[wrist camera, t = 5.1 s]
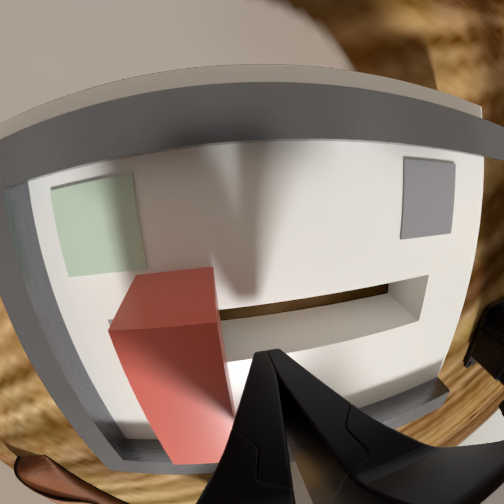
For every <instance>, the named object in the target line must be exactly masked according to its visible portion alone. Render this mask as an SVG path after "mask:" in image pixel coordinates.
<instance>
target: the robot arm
mask: <svg viewBox="0 0 504 504" xmlns="http://www.w3.org/2000/svg"><path fill="white" fill-rule="evenodd" d="M477 362H478V363H479V364H480V365H481V366H482V367H483V368H484V369H485V370H486V371H487V372H488V373H489V374H490V375H491V376H492V377H493V378H494V379H495V380H497V381H498V380H499V381H500V382H501V383H502V384H503V385H504V298H502V299H500V300H498V301H496V302H494V303H492V304H490V305H488V306H487V307H486V308H485V310H484V312H483V315H482V318H481V321H480V324H479V327H478V330H477V332H476V335H475V338H474V340H473V343H472V345H471V348H470V350H469V353H468V355H467V357H466V360H465V362H464V366H465V367H466V368H468V367H470V366H472V365H473V364H475V363H477ZM498 407H499V408H500V410H501V412H502V415H503V416H504V400H503V401H502V402H501V403H500V405H499V406H498ZM287 442H288V444H289V447H290V449H291V452H292V454H293V457H294V459H295V462H296V464H297V467H298V469H299V472H300V474H301V476H302V479H303V481H304V484H305V486H306V488H307V491H308V493H309V495H310V498H311V500H312V502H313V504H504V440H503V441H499V442H493V443H486V444H478V445H469V446H457V447H435V446H430V445H427V444H424V443H422V442H419V441H417V440H415V439H413V438H411V437H409V436H407V435H404V434H402V433H400V432H398V431H396V430H394V429H392V428H390V427H388V426H387V425H385V424H383V423H381V422H379V421H378V420H376V419H374V418H372V417H371V416H369V415H368V414H366V413H365V412H363V411H362V410H360V409H359V408H358V407H356V406H355V405H353V404H352V405H351V403H350V402H349V401H348V400H346V399H345V398H343V397H342V396H341V395H339V394H338V393H337V392H335V391H334V390H333V389H331V388H330V387H329V386H327V385H326V384H325V383H323V382H322V381H321V380H319V379H318V378H317V377H315V376H314V375H313V374H311V373H310V372H309V371H308V370H306V369H305V368H304V367H302V366H301V365H300V364H298V363H297V362H296V361H295V360H293V359H292V358H291V357H290V356H288V355H287V354H286V353H285V352H283V351H282V350H281V349H271V350H267V351H266V350H265V351H258V352H255V353H254V355H253V359H252V362H251V366H250V369H249V372H248V376H247V379H246V383H245V386H244V389H243V393H242V396H241V399H240V403H239V406H238V409H237V413H236V416H235V419H234V422H233V426H232V430H231V432H230V435H229V438H228V441H227V444H226V446H225V449H224V452H223V454H222V456H221V458H220V460H219V463H218V465H217V467H216V469H215V471H214V472H213V474H212V476H211V478H210V480H209V482H208V483H207V485H206V487H205V489H204V491H203V492H202V494H201V496H200V498H199V499H198V501H197V503H196V504H296V501H295V495H294V490H293V481H292V474H291V467H290V460H289V452H288V445H287Z"/></svg>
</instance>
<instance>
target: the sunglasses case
mask: <svg viewBox="0 0 504 504" xmlns="http://www.w3.org/2000/svg"><path fill="white" fill-rule="evenodd" d="M14 472H15V475H16V477H17V478H18V479H19V480H20V482H22V483H23V484H24V485H25V486H27V487H28V488H29V489H31V490H32V491H34V492H36V493H38V494H40V495H42V496H44V497H46V498H48V499H50V500H52V501H53V502H55V503H57V504H128V503H126V502H124V501H121V500H119V499H117V498H115V497H113V496H111V495H109V494H107V493H105V492H103V491H101V490H99V489H97V488H95V487H94V486H92V485H90V484H88V483H87V482H85V481H83V480H81V479H80V478H78V477H76V476H75V475H73V474H72V473H70V472H69V471H67V470H66V469H64V468H63V467H61V466H60V465H58V464H57V463H56V462H55V461H53V460H52V459H50V458H49V457H48V456H45V455H42V456H30V457H21V458H20V457H19V456H18V457H17V459H16V461H15V464H14Z"/></svg>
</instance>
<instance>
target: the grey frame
mask: <svg viewBox="0 0 504 504" xmlns="http://www.w3.org/2000/svg"><path fill="white" fill-rule="evenodd" d="M274 141H346V142H367V143H382V144H394V145H405V146H414V147H422V148H430V149H438V150H444V151H451V152H457V153H463V154H468V155H474V156H479V157H484V158H490V159H496V160H502V161H504V127H502V126H500V125H498V124H495V123H493V122H490V121H488V120H485V119H482V118H480V117H477V116H474V115H471V114H468V113H465V112H462V111H459V110H456V109H453V108H449V107H446V106H442V105H439V104H435V103H432V102H428V101H424V100H420V99H416V98H411V97H407V96H402V95H397V94H392V93H387V92H381V91H375V90H369V89H362V88H355V87H347V86H338V85H328V84H316V83H298V82H237V83H220V84H207V85H197V86H188V87H180V88H173V89H166V90H159V91H153V92H148V93H142V94H137V95H132V96H128V97H123V98H119V99H114V100H110V101H106V102H102V103H98V104H95V105H91V106H87V107H84V108H81V109H77V110H74V111H71V112H68V113H65V114H62V115H59V116H56V117H53V118H50V119H47V120H45V121H42V122H39V123H37V124H34V125H32V126H29V127H27V128H24V129H22V130H20V131H17V132H15V133H13V134H10V135H8V136H6V137H4V138H2V139H0V295H1V298H2V301H3V303H4V306H5V308H6V311H7V313H8V316H9V318H10V320H11V323H12V325H13V327H14V329H15V332H16V334H17V336H18V338H19V340H20V342H21V344H22V346H23V348H24V350H25V352H26V354H27V356H28V358H29V360H30V362H31V363H32V365H33V367H34V369H35V371H36V372H37V374H38V376H39V378H40V379H41V381H42V383H43V384H44V386H45V387H46V389H47V391H48V392H49V394H50V395H51V397H52V398H53V400H54V401H55V403H56V404H57V406H58V407H59V409H60V410H61V412H62V413H63V414H64V416H65V417H66V419H67V420H68V421H69V423H70V424H71V425H72V427H73V428H74V429H75V431H76V432H77V433H78V434H79V436H80V437H81V438H82V439H83V441H84V442H85V443H86V444H87V445H88V447H89V448H90V449H91V450H92V451H93V452H94V454H95V455H96V456H97V457H98V458H99V459H100V460H101V461H102V462H103V464H104V465H105V466H106V467H107V468H108V469H109V470H115V471H124V472H135V473H151V474H202V473H213V472H214V471H215V469H216V467H217V465H218V463H207V464H181V465H174V464H173V462H172V461H171V459H170V458H169V456H168V454H167V453H166V451H165V450H164V448H163V446H162V445H161V443H160V441H159V439H128V438H126V437H125V436H124V434H123V433H122V431H121V430H120V428H119V427H118V425H117V424H116V422H115V420H114V419H113V417H112V416H111V414H110V412H109V411H108V409H107V407H106V406H105V404H104V402H103V401H102V399H101V397H100V395H99V394H98V392H97V390H96V388H95V386H94V385H93V383H92V381H91V379H90V377H89V375H88V373H87V371H86V369H85V367H84V365H83V363H82V361H81V359H80V357H79V355H78V353H77V350H76V348H75V346H74V344H73V342H72V339H71V337H70V335H69V332H68V330H67V327H66V325H65V322H64V320H63V317H62V315H61V312H60V309H59V307H58V304H57V301H56V298H55V295H54V292H53V289H52V286H51V283H50V280H49V277H48V273H47V270H46V267H45V263H44V259H43V256H42V252H41V248H40V244H39V240H38V235H37V231H36V226H35V221H34V216H33V211H32V205H31V199H30V192H29V185H28V182H30V181H33V180H36V179H39V178H43V177H46V176H50V175H53V174H57V173H61V172H65V171H68V170H72V169H76V168H80V167H85V166H89V165H93V164H98V163H102V162H107V161H112V160H117V159H122V158H127V157H133V156H138V155H144V154H150V153H157V152H164V151H171V150H178V149H186V148H194V147H203V146H213V145H224V144H237V143H253V142H274ZM449 392H450V390H449V389H448V388H447V387H446V386H445V385H444V383H443V382H442V381H441V380H440V379H439V378H438V377H436V378H434V379H432V380H429V381H427V382H425V383H423V384H421V385H418V386H416V387H414V388H411V389H409V390H407V391H404V392H402V393H399V394H397V395H394V396H392V397H389V398H386V399H384V400H381V401H378V402H375V403H373V404H370V405H367V406H364V407H361V408H359V409H360V410H362V411H363V412H365V413H366V414H368V415H369V416H371V417H372V418H374V419H376V420H378V421H379V422H381V423H383V424H385V425H387V426H388V427H390V428H392V429H396V428H399V427H401V426H403V425H405V424H408V423H410V422H412V421H414V420H416V419H418V418H420V417H422V416H424V415H426V414H428V413H430V412H432V411H434V410H436V409H438V408H440V407H441V406H442V405H443V403H444V401H445V400H446V398H447V396H448V394H449ZM287 445H288V452H289V460H290V462H293V461H295V459H294V457H293V454H292V452H291V449H290V447H289V444H288V442H287Z"/></svg>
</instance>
